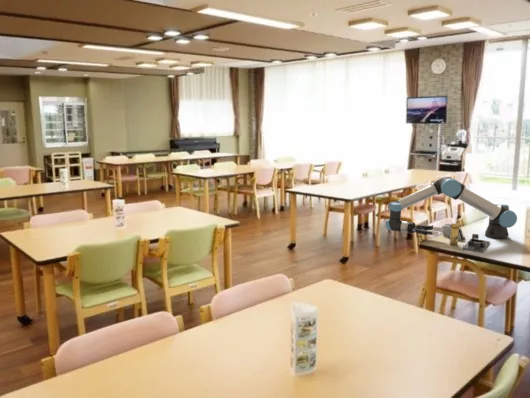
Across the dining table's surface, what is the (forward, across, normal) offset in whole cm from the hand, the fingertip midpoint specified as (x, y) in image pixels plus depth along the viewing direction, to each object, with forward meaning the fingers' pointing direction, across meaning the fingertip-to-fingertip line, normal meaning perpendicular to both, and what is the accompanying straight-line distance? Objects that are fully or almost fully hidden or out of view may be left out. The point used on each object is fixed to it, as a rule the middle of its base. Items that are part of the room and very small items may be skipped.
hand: (440, 231), depth 321 cm
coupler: (+9, 0, -7) cm, 12 cm away
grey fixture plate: (+22, -5, -7) cm, 24 cm away
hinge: (+4, -22, -8) cm, 24 cm away
